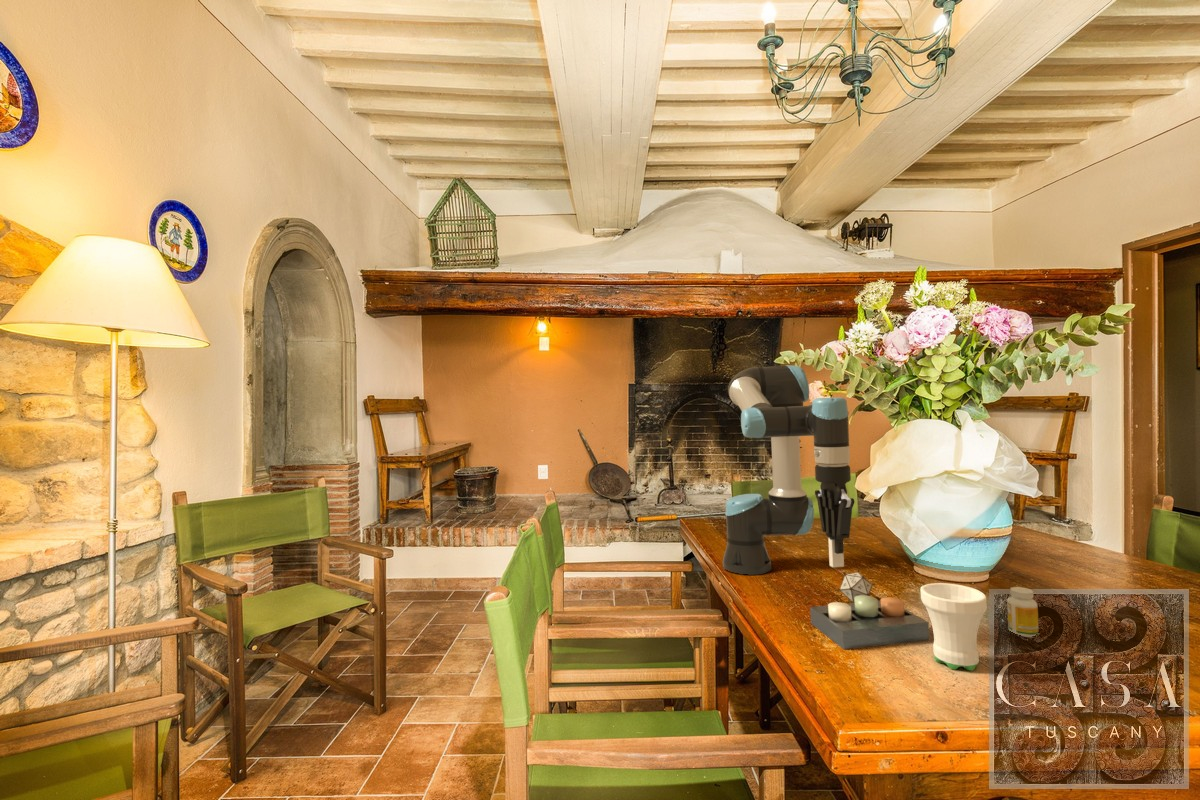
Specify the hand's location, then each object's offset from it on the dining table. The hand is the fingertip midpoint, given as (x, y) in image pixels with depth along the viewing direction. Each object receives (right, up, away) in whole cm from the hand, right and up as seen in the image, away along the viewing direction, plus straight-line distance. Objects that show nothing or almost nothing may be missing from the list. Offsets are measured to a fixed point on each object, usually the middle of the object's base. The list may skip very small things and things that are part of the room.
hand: (836, 565), depth 126 cm
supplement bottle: (+39, -14, -5) cm, 42 cm away
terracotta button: (+13, -11, 0) cm, 17 cm away
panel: (+7, -15, -1) cm, 16 cm away
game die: (+13, -15, +17) cm, 26 cm away
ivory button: (0, -12, -1) cm, 12 cm away
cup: (+17, -15, -17) cm, 28 cm away
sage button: (+7, -11, -1) cm, 12 cm away
